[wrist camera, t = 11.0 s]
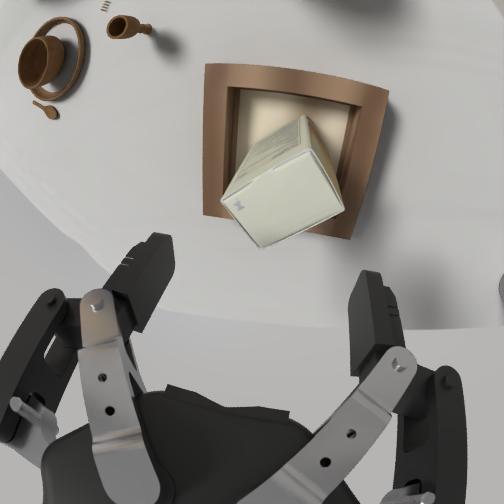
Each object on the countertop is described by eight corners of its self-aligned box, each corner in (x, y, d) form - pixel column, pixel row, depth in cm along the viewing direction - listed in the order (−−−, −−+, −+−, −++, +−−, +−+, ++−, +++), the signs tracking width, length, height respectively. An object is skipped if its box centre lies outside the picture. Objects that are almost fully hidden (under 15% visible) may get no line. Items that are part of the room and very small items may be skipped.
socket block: (377, 86, 20) (389, 90, 17) (345, 219, 30) (349, 239, 27) (219, 63, 22) (205, 63, 19) (214, 197, 31) (203, 215, 28)
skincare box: (275, 179, 27) (256, 254, 18) (251, 144, 26) (213, 202, 16) (332, 149, 24) (348, 213, 15) (308, 111, 23) (310, 147, 13)
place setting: (56, -7, 15) (24, -6, 11) (168, 17, 19) (137, 11, 15) (24, 101, 26) (-4, 113, 21) (112, 149, 30) (82, 168, 25)
